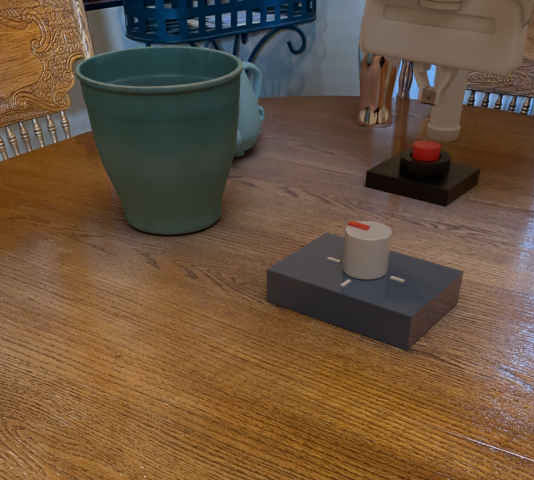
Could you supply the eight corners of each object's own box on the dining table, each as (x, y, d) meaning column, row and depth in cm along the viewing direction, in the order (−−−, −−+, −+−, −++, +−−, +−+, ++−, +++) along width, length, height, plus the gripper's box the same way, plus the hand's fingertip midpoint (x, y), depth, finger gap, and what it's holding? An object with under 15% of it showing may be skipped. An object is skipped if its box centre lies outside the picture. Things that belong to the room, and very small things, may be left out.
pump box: (477, 184, 96) (483, 154, 93) (445, 207, 90) (451, 175, 87) (399, 167, 101) (403, 137, 98) (364, 187, 95) (367, 156, 92)
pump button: (443, 157, 93) (445, 143, 92) (431, 164, 91) (433, 150, 90) (419, 152, 95) (421, 138, 94) (406, 159, 93) (408, 145, 91)
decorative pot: (183, 131, 114) (175, 34, 105) (275, 141, 110) (275, 40, 101) (134, 162, 103) (120, 57, 94) (235, 175, 98) (230, 65, 89)
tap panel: (457, 303, 71) (464, 269, 68) (406, 350, 64) (412, 315, 62) (324, 262, 78) (326, 230, 76) (266, 301, 71) (266, 267, 69)
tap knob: (395, 267, 69) (401, 225, 66) (372, 284, 66) (377, 240, 64) (357, 255, 71) (361, 214, 68) (333, 271, 68) (336, 228, 66)
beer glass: (361, 114, 121) (369, 11, 111) (400, 119, 118) (412, 14, 108) (346, 125, 116) (354, 18, 106) (386, 130, 114) (398, 22, 104)
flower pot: (249, 246, 81) (246, 82, 70) (93, 251, 80) (63, 86, 69) (243, 189, 94) (239, 44, 83) (108, 193, 94) (86, 47, 82)
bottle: (418, 137, 111) (445, -60, 94) (438, 130, 114) (468, -63, 97) (445, 145, 108) (477, -58, 91) (465, 138, 111) (500, -60, 94)
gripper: (550, -24, 77) (518, 113, 86) (386, -40, 85) (373, 86, 95) (529, -18, 73) (498, 125, 82) (360, -35, 82) (349, 95, 91)
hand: (430, 104), depth 89 cm, fingers closed
